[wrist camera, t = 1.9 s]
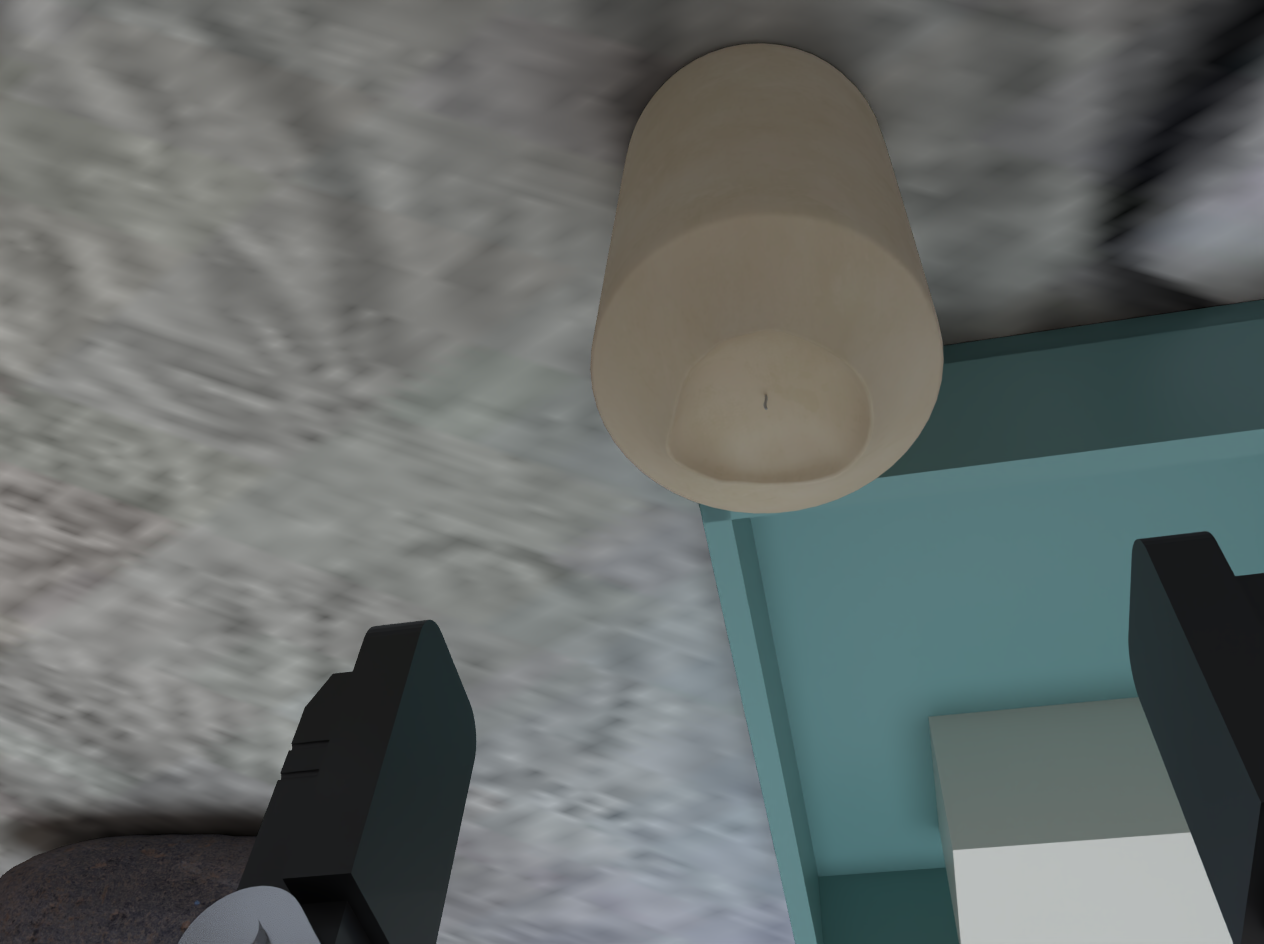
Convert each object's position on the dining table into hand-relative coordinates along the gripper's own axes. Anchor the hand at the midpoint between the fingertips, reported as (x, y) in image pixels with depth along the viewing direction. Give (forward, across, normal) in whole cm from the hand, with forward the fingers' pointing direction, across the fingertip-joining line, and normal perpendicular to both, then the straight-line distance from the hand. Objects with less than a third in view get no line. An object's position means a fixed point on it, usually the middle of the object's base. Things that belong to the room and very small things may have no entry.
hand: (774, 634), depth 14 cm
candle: (+15, 0, 0) cm, 15 cm away
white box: (+14, -6, +19) cm, 25 cm away
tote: (+14, -6, +15) cm, 21 cm away
